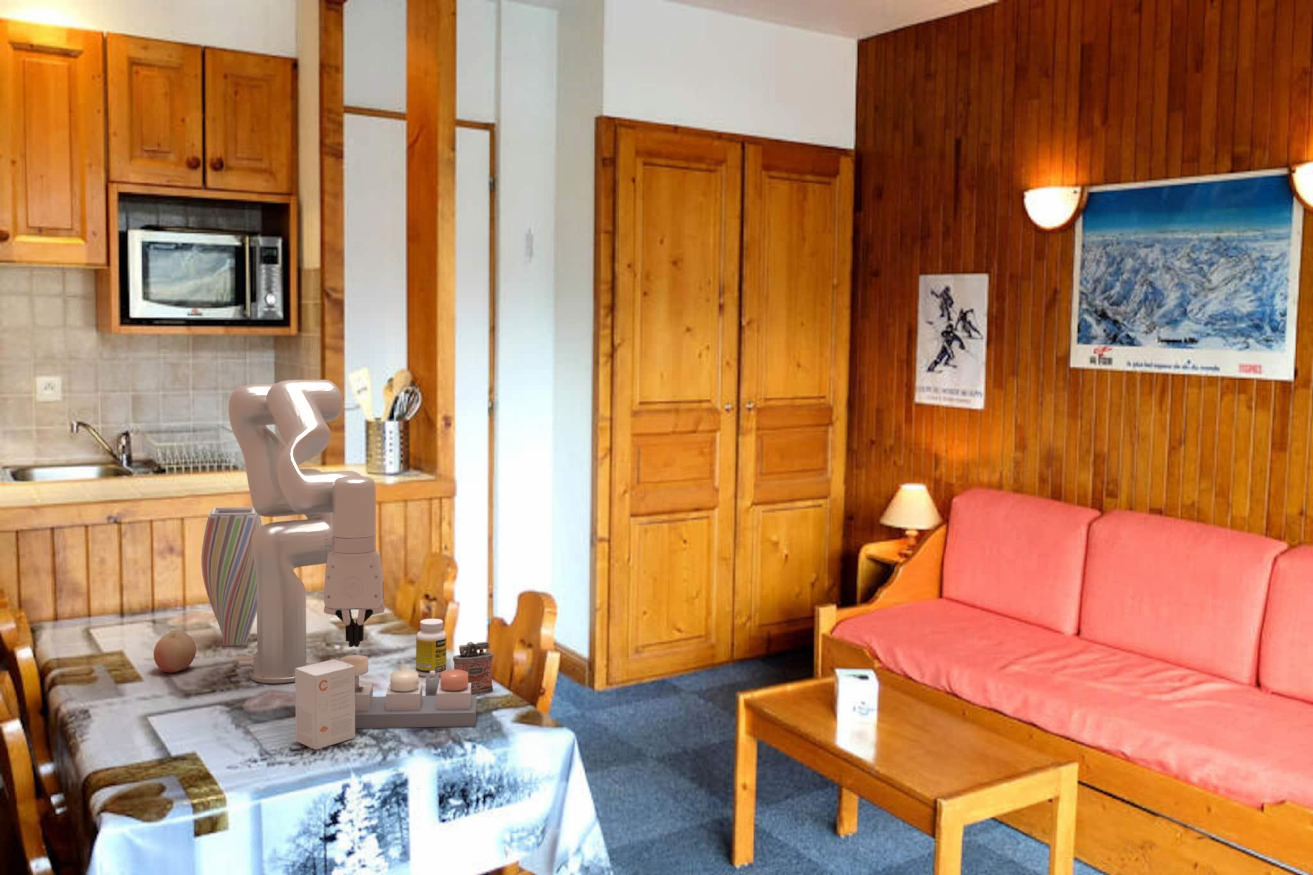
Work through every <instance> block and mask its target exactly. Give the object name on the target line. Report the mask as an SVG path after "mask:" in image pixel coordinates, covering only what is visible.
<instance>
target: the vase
mask: <svg viewBox="0 0 1313 875" xmlns="http://www.w3.org/2000/svg"><path fill="white" fill-rule="evenodd" d="M261 526H263V523H262V518H261V516H260V515H258V514H257V513H256V511H255V510H254V508H253V506H237V507H235V506H234V507H213V508H212V509H211V511H210V512H209V514H208V517H207V521H206V526H205V530H204V533H203V534H204V536H203V542H202V549H201V560H200V562H201V573H202V574H201V575H202V578H203V584H204V588H205V592H206V595H207V598H208V601H209V604H210V605H211V606H210V607H211V609H212V611H213V614H214V616H215V619H216V622H217V625H218V627H219V630H220V632H221V637H222V646H223V647H229V646H230V647H231V646H232V647H233V646H246V645H247V643H248V639H249V635H250V633H251V630H252V627H253V624H254V622H255V618H256V617H257V584H256V572H255V565H254V559H253V554H252V547H251V539H252V536H253V534H254V532H255V531H256V530H257V529H258V528H259V527H261Z"/></svg>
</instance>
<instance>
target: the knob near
mask: <svg viewBox="0 0 1313 875" xmlns="http://www.w3.org/2000/svg"><path fill="white" fill-rule="evenodd" d="M339 661H342V662H345V663H348V664H351V665H353V666H355V689H358V688H359V684H360V676H364V675H366V674H368V672H369V657H368V656H366V655H362V654H353V655H345V656H342V657H341V658H339Z"/></svg>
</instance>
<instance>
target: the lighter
mask: <svg viewBox="0 0 1313 875" xmlns="http://www.w3.org/2000/svg"><path fill="white" fill-rule="evenodd" d="M490 648H491V643H490V642H489V641H481V642H480V641H479V642H477V643H475V642H472V641H468V642H467V644H460V645H458V649H459V650H458V651H459V654H457V655H453V657H452V662H453V670H464V671H467V672H468V683H471V695H477V696H478V695H483V694H484V695H485V694H490V693H492V692H493V691H494V687H493V659H494V652H491V651H485V650H489V649H490ZM478 651H479V652H478Z"/></svg>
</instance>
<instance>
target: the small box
mask: <svg viewBox="0 0 1313 875" xmlns="http://www.w3.org/2000/svg"><path fill="white" fill-rule="evenodd" d="M294 683H295V684H294V686H295V690H294V691H295V692H294V693H295V741H296V742H297V743H299V744H302V745H303V746H305V747H306V746H307V747H309V748H311V749H314V750H315V751H316V750H317V751H318V750H320V749H323V748H326V747H329V746H332V745H333V746H334V745H336V744H338V743H339V744H340V743H342V742H346V741H350V740H351V739H355V738H356V728H355V666H353V665H351V664H348V663H345V662H342V661H340V659H335V658H332V659H329V660H325V661H320V662H316V663H312V664H311V665H307V666H303V667H299V668H295V682H294Z"/></svg>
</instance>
